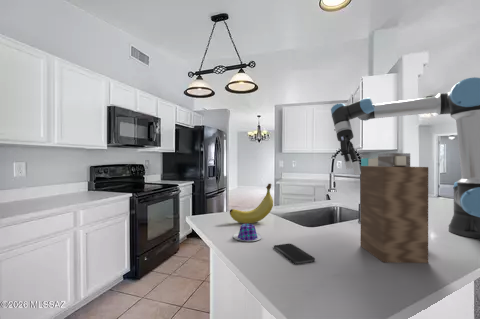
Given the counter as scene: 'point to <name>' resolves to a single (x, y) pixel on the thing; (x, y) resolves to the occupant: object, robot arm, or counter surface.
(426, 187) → the stand
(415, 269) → the counter surface
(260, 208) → the banana
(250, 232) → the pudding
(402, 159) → the cream teal square bar
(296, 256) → the phone
